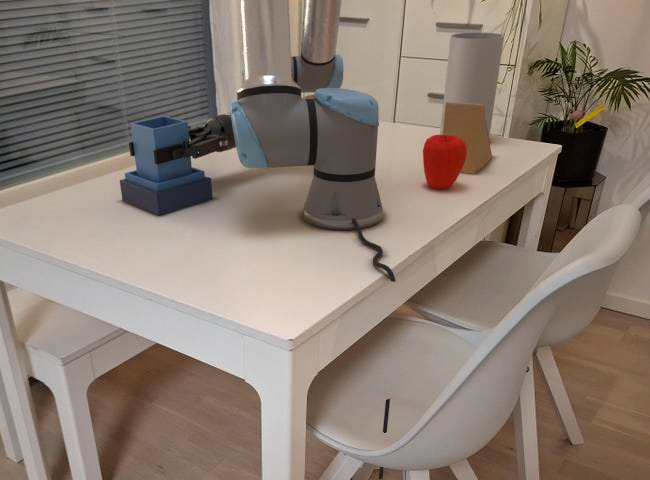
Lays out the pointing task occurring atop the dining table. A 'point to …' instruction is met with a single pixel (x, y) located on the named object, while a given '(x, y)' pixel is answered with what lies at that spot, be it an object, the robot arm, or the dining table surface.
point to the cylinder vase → (473, 71)
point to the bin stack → (166, 192)
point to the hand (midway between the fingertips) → (142, 153)
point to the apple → (443, 160)
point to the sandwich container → (469, 132)
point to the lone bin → (155, 137)
